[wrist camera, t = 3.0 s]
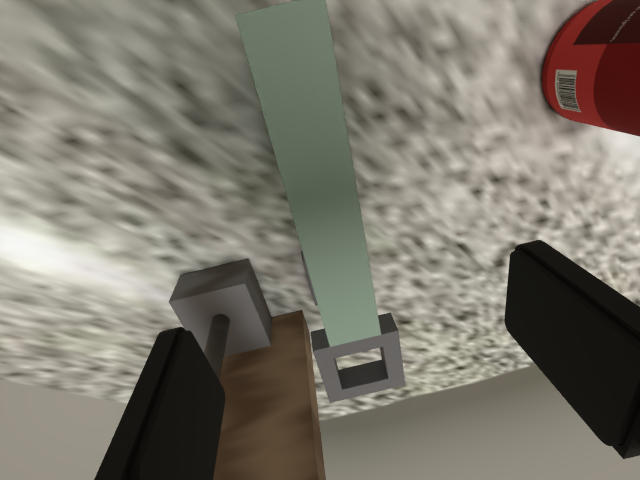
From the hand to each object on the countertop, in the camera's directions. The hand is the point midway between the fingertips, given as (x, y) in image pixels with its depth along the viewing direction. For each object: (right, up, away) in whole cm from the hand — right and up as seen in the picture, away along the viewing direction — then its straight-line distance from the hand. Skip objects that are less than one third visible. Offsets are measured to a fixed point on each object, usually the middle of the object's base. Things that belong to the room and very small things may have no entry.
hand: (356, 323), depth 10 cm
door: (-1, +7, +16) cm, 17 cm away
